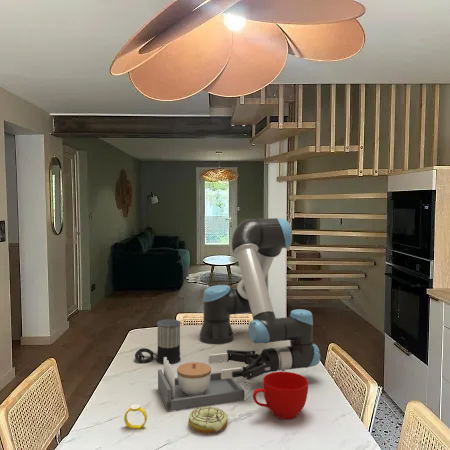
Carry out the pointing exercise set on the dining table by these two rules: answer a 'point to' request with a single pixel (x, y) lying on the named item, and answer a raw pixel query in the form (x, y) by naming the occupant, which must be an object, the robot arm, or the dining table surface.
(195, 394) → the lidded jar
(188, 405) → the dish rack
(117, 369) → the dining table surface
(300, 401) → the ceramic cup
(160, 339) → the milk frother
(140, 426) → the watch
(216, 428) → the decorated donut
